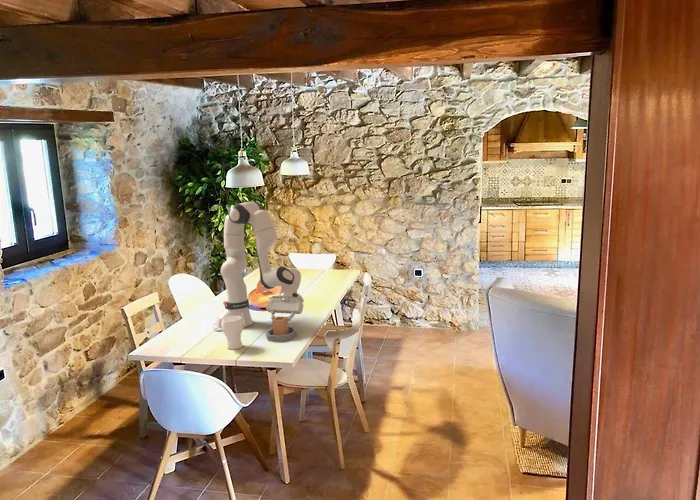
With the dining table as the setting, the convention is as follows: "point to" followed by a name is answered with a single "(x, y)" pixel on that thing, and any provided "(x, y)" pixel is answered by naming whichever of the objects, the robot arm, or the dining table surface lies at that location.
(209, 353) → the dining table surface
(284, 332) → the pot
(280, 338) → the dish
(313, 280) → the dining table surface
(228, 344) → the cup
